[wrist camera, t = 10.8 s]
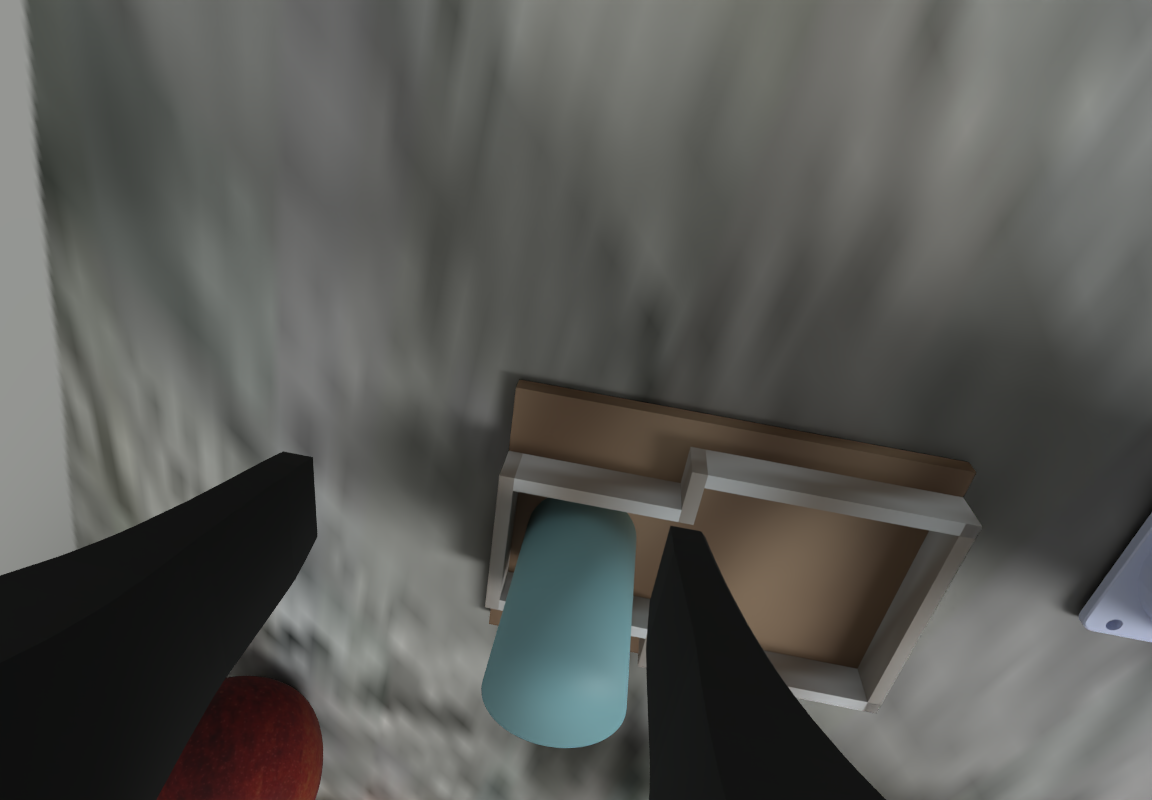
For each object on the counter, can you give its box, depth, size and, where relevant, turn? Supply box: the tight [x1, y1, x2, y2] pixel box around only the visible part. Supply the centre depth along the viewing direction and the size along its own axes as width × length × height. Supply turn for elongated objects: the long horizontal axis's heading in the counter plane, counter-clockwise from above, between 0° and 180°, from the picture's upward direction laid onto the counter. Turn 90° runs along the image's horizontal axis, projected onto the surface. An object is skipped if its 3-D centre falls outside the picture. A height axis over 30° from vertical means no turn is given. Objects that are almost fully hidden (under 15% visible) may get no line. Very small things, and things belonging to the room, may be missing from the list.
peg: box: [481, 497, 636, 748], centre depth 21 cm, size 4×4×7 cm
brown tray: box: [485, 379, 982, 713], centre depth 24 cm, size 15×11×2 cm
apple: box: [157, 676, 323, 800], centre depth 28 cm, size 7×8×8 cm
